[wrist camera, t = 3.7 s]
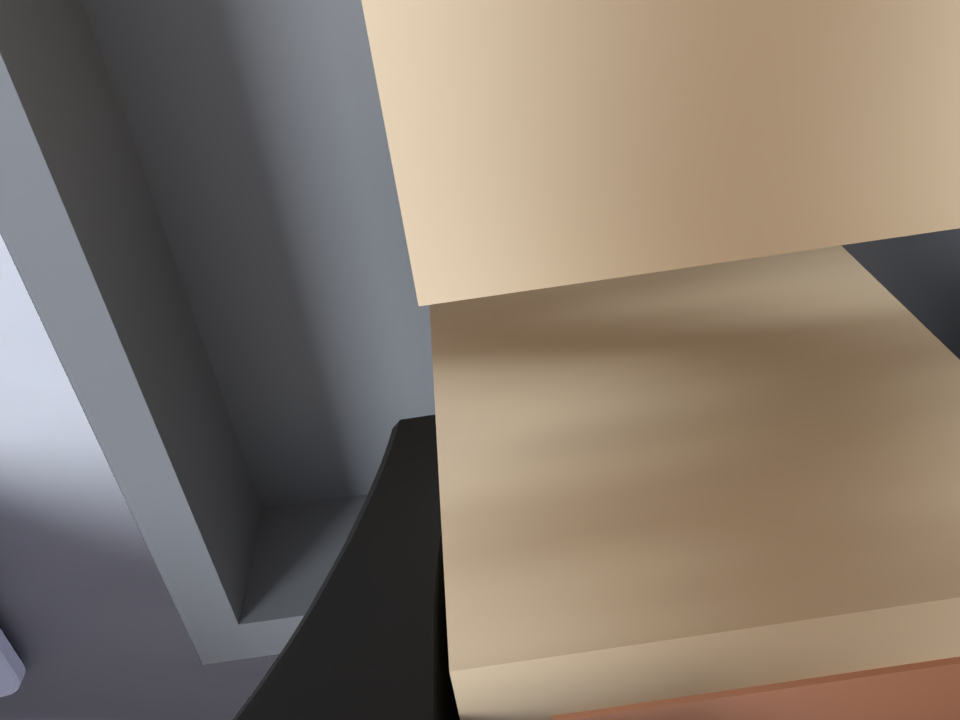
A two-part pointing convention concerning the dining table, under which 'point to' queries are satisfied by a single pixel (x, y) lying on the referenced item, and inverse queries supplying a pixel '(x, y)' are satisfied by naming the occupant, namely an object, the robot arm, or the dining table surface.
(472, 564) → the labelled block
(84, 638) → the dining table surface
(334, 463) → the parts bin
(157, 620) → the dining table surface
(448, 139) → the plain block
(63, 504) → the dining table surface
